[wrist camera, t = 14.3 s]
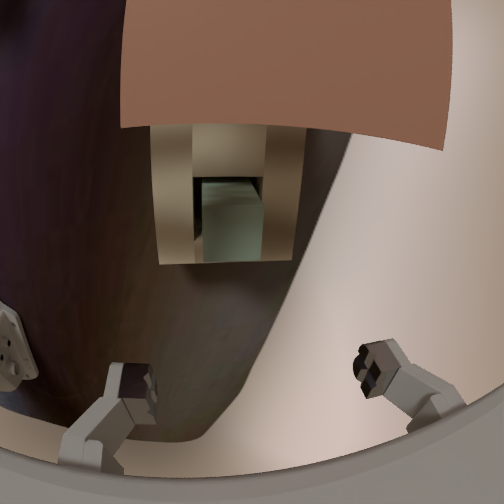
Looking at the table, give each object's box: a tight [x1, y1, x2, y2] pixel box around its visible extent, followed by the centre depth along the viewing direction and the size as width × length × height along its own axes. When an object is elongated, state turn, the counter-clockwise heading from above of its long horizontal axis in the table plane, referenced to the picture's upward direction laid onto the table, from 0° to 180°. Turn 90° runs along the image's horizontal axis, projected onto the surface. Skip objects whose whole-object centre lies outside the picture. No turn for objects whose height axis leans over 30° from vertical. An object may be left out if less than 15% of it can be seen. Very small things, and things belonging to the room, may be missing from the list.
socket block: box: [150, 123, 307, 264], centre depth 24 cm, size 20×12×6 cm, turn 177°
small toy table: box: [120, 0, 452, 151], centre depth 14 cm, size 16×16×18 cm
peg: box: [202, 176, 264, 262], centre depth 24 cm, size 4×4×10 cm
